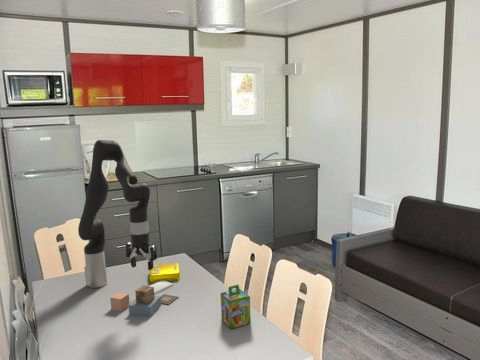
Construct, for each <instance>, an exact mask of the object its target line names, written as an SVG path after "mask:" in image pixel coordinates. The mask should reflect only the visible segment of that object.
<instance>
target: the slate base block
mask: <svg viewBox="0 0 480 360" xmlns="http://www.w3.org/2000/svg"><path fill="white" fill-rule="evenodd" d="M154 298H155V299H154V300H152V301H151V302H150V303H148V304H142V303H137V302H136V298H134V300H132V302H129V303H130V304H129V305H128V315H132V316H134V315H135V316H145V317H152V316H153V315H154V314H155V313H156V312H157V310H158V309H159V308H160V307H161V306H162V304H161V295H160V296H158V295H154Z"/></svg>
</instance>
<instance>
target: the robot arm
mask: <svg viewBox="0 0 480 360" xmlns="http://www.w3.org/2000/svg"><path fill="white" fill-rule="evenodd" d="M92 149H93V150H92V159H91V170H90V176H89V181H88V184H87V190H86V195H85V196H86V198H85V201H84V206H83V211H82V214H81V217H80V220H79V224H78V229H77V232H78V236H79V238H80V239H81V240H83V241H89V242H88V243H87V244H86V245H85V246H84V247H83V253H84V263H85V266H84V267H83V268H84V277H85V286H87V287H88V288H90V289H91V288H92V289H98V288H101V287H102V288H103V287H104V286H105V285H107V283H108V279H107V278H108V277H107V268H106V267H107V266H106V257H105V244H106V239H105V237H106V236H105V235H106V234H105V226H104V223H103V221H102V220H101V219H100V218H96V216H97V214H98V212H99V211H100V210H101V208H102V207H103V206H104V205H105V203H106V201H107V198H108V193H109V190H110V189H109V187H110V186H109V183H108V180H107V177H106V176H105V174H104V171H103V162H104V161H107V162H109V161H114V162H115V163H116V165H115V169H114V174H115V177H116V179H117V180H118V183H119V184H120V185H121V188H122V195H123V197H124V200H126V201H127V202H129V203H133V202H134V203H135V202H138V204H136V205H134V206H132V207H130V208H129V222H130V223H129V231H130V242H128V243H125V256H126V258H129V259H130V266H131V268H133V269H134V268H135V267H137V258H136V257H137V256H143V257H144V259H146V260H147V270H148V271H150V270H151V269H153V265H154V261H156V260H157V259H158V254H157V253H158V252H157V247H156V245H150V228H149V223H148V220H149V219H148V206H149V202H150V201H149V200H150V197H151V190H150V187H149V185H148V184H147V183H138V177H137V175H136V174H135V173H134V171H133V170H132V169H131V167H130V165H129V163H128V161H127V159H126V156H125V153H124V151H123V149H122V146H121V145H120V143H119V142H118V141H117V140H113V139H111V140H110V139H109V140H108V139H98V140H96V141H95V143H94V145H93V148H92Z"/></svg>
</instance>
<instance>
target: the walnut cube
mask: <svg viewBox="0 0 480 360" xmlns="http://www.w3.org/2000/svg"><path fill="white" fill-rule="evenodd" d="M134 291H135V292H134V293H135V299H136V302H137V303H142V304H148V303H150V302H151V301H152V300H154V299H155V298H154V296H155V294H154V287H151V286H150V285H141V286H139V287H138V288H137V289H135V290H134Z"/></svg>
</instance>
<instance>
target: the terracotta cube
mask: <svg viewBox="0 0 480 360" xmlns="http://www.w3.org/2000/svg"><path fill="white" fill-rule="evenodd" d="M130 303H131V302H130V295H129V293H125V292H117V293H115V294H114V295H112V296H110V309H111V310H113V311H114V310H115V311H118V312H119V311H120V312H122V311H124V310H126V309H127V308H129V306H128V305H129V304H130Z"/></svg>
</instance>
